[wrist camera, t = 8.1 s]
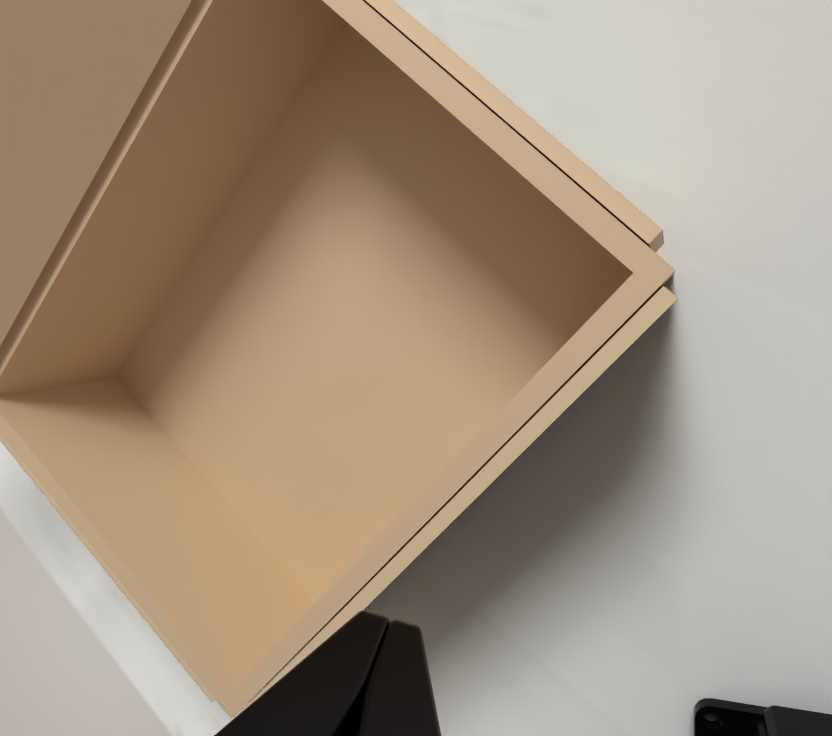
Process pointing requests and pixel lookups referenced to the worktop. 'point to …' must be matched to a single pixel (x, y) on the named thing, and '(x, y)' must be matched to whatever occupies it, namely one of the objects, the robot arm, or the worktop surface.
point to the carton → (309, 323)
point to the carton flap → (63, 115)
